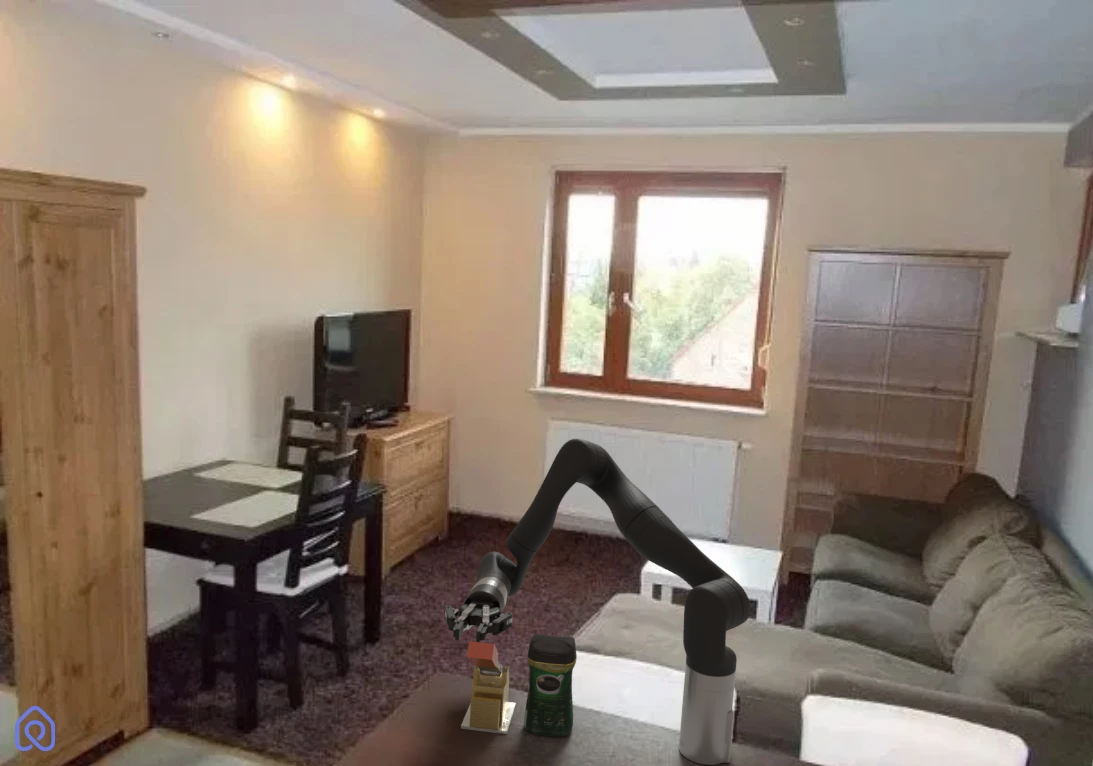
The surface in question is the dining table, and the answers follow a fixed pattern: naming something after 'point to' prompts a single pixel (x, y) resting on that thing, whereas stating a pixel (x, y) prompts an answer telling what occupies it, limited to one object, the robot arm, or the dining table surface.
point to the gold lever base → (489, 704)
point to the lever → (484, 658)
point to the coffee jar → (550, 685)
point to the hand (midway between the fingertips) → (467, 636)
